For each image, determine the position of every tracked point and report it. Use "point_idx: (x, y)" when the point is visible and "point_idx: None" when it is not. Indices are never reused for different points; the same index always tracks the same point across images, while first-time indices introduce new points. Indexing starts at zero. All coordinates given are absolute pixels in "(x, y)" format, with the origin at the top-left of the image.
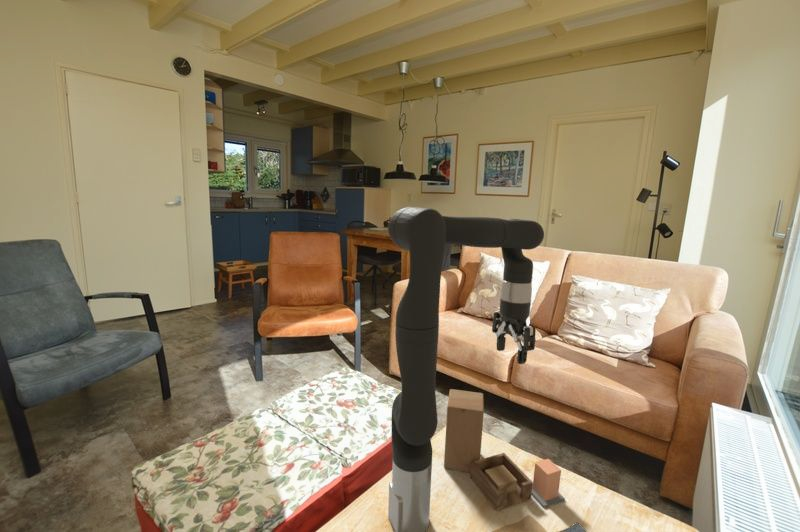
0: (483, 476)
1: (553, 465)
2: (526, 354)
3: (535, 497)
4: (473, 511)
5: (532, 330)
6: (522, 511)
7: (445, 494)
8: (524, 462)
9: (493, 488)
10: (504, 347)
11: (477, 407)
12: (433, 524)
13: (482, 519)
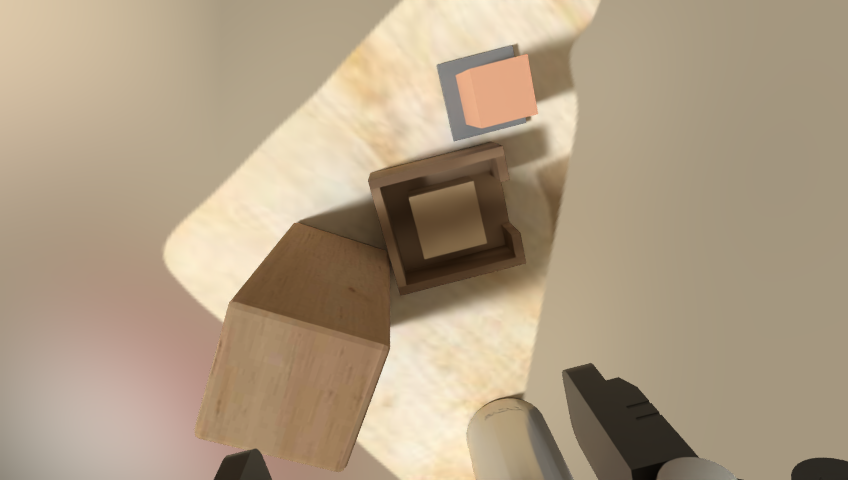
0: (461, 279)
1: (503, 69)
2: (682, 444)
3: (494, 130)
4: (504, 300)
5: None
6: (524, 183)
7: (447, 350)
8: (351, 91)
9: (506, 267)
10: (247, 466)
11: (361, 364)
12: (522, 389)
13: (529, 286)
